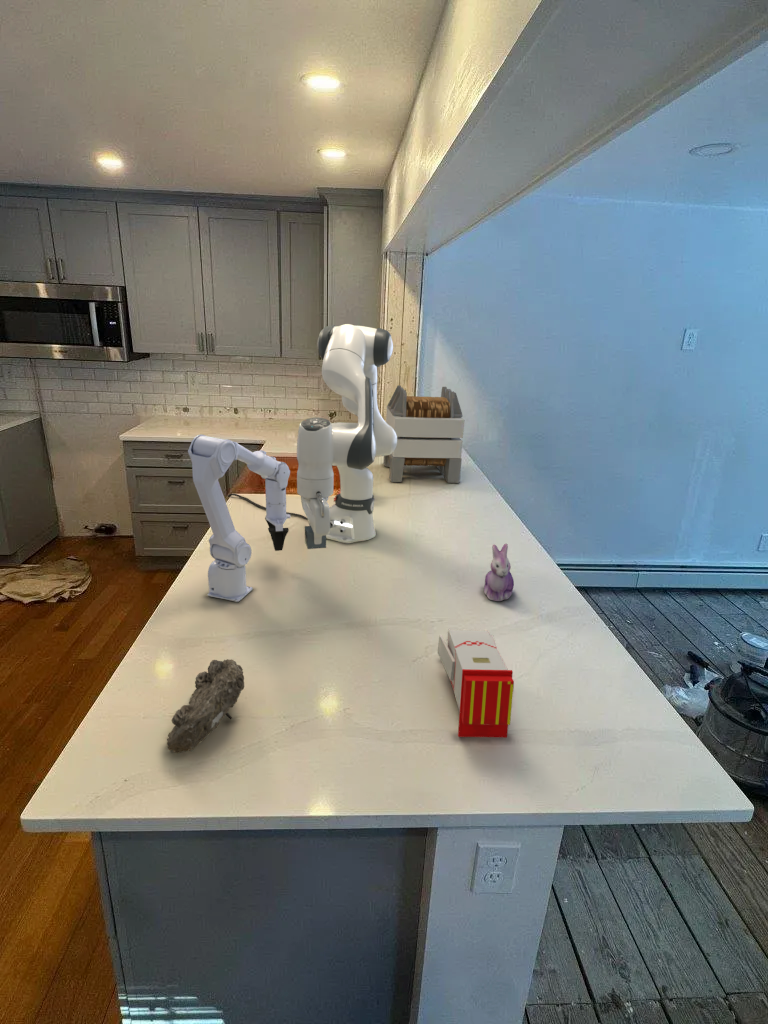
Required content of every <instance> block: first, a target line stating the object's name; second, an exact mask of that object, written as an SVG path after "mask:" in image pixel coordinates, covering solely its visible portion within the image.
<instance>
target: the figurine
mask: <svg viewBox="0 0 768 1024" xmlns="http://www.w3.org/2000/svg"><path fill="white" fill-rule="evenodd" d="M491 547H492V548H491V549H492V560H491V562H490V571H488V572H487V573H486V574H485V577H484V587H483V592H484V595H485V596H486V597H487V598H488V600H491V601H494V602H495V601H496V602H502V601H503V600H509V598H510V597H511V596H512V594H513V590H514V587H515V581H514V577H513V574H512V572H511V567H512V566H511V563H510V560H509V558H508V549H509V545H508V544H507V543H504V544H503V545H502V547H501V549H500V550H499V548H498V546H497V545H496V544H494V543H493V544H492V546H491Z"/></svg>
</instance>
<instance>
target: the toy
mask: <svg viewBox="0 0 768 1024" xmlns="http://www.w3.org/2000/svg"><path fill="white" fill-rule="evenodd" d="M446 640H447V643H446V641H445V639H444V636H443V635H442V634H439V637H438V646H437V656H438V657H439V659H440V661H441V663H442V666H443V668H444V670H445V672H446V674H447V677H448V679H449V681H450V684H451V687H452V690H453V693H454V697H455V701H456V705H457V708H458V711H459V714H458V715H459V716H458V730H457V731H458V732H457V737H458V738H508V731H509V726H510V725H511V717H512V707H513V697H514V696H513V695H514V684H515V680H514V679H513V673H514V671H513V670H512V669H508V667H507V665H506V662H505V661H504V659H503V658H502V655H501V653H500V651H499V649H498V647H497V643H496V639H495V637H494V635H493V634H491V632H490V631H489V629H467V628H466V629H465V628H463V629H461V628H460V629H459V628H448V630H447V639H446Z"/></svg>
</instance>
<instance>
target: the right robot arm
mask: <svg viewBox="0 0 768 1024" xmlns="http://www.w3.org/2000/svg"><path fill="white" fill-rule="evenodd" d="M317 350H318V354H319V357H320V358H321V359H322V365H321V377H322V379H323V382H324V384H325V386H327V387H328V388H329V390H330V391H332V392H333V393H335V394H336V395H339V396H341V404H342V406H343V408H344V409H345V410H346V411H347V412H349V413H350V414H351V415H352V414H353V415H354V416H356V417H357V422H343V421H341V422H340V421H337V422H333V423H332V422H331V421H330V420H329V419H327V418H324V417H310V418H306V419H304V420H302V421H301V422H300V423H299V426H298V430H297V439H296V460H297V464H298V468H297V471H296V493H297V495H298V496H300V502H301V506H302V510H303V512H304V515H303V514H299V513H296V512H295V513H294V512H288V511H286V514H290V516H295V517H299V518H302V519H303V520H306V521H308V526H311V527H312V530H313V532H314V536H313V541H314V543H315V544H321V543H322V536H323V535H326V540H330V541H336V542H339V543H343V544H352V543H357V542H365V541H368V540H372V539H373V538H375V537H376V535H377V532H376V528H375V523H374V513H373V512H374V509H375V496H374V474H373V472H372V471H371V469H369V468H368V467H370V466H371V465H372V464H373V463H374V462H375V460H376V459H375V458H379V457H384V456H386V455H390V454H392V453H393V451H394V450H395V448H396V446H397V435H396V432H395V431H394V429H393V428H392V427H391V426H390V425H388V424H387V423H386V419H384V418H383V416H382V414H381V413H380V410H379V406H378V368H380V367H381V366H384V365H386V364H388V363H389V362H390V359H391V357H392V355H393V350H394V342H393V338H392V334H391V333H390V332H389V330H387V329H384V328H380V327H377V328H375V327H371V326H364V325H353V324H351V323H345V324H341V325H338V326H337V325H334V324H333V325H327V326H324V327H323V329H321V330H320V332H319V335H318V338H317ZM333 467H337V470H338V474H339V483H340V484H339V485H340V488H339V489H340V490H339V491H338V492H337V494H336V495H335V496H334V497H333V502H334V504H333V505H331V506H330V505H329V503H328V501H329V498H330V497H331V496H332V495H333V494H334V489H335V488H334V482H335V481H334V480H335V479H334V478H335V474H334V473H335V472H334V469H333ZM232 496H234V497H238V498H240V499H243V500H245V501H247V502H248V503H250V504H252V505H254V506H256V507H258V508H260V509H263V510H266V506H263V505H260V504H259V503H256V502H254V501H252V500H251V499H249V498H247V497H245V496H244V495H243V496H242V495H240V494H237V493H229V494H228V495H227V498H230V497H232Z"/></svg>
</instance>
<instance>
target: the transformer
mask: <svg viewBox="0 0 768 1024" xmlns="http://www.w3.org/2000/svg"><path fill="white" fill-rule="evenodd" d="M440 393H441V394H440V396H415V395H414V396H413V395H412V396H411V395H407V394H408V393H407V390H406V389H404V388H403V387H402V385H399V384H398V385H397V386H396V388H395V390H394V392H393V394H392V395H391V398H390V400H389V402H388V404H387V405H386V413H385V414H386V415H385V422H386V423H387V424H388V425H390V426H391V427H392V428H393V429H394V431H395V432H396V435H397V446H396V448H395V450H394V451H393V453H392V454H390V455H386V456H383V466H384V467H388V468H389V475H388V476H389V477H388V478H389V480H390V482H391V483H402V482H403V475H404V469H405V466H406V467H407V466H411V467H412V466H413V467H415V466H416V467H417V466H418V467H436V468H437V470H438V469H439V473H440V474H441V475H443V478H444V479H445V481H446V482H447V483H449V484H455V483H456V484H459V483H461V472H462V461H463V460H462V453H463V442H464V441H463V440H462V439H463V438H464V431H465V430H464V429H465V419H464V418H463V411H462V408H461V405H460V402H459V398H458V395H457V392H455V391H453V390H452V389H451V388H447V386H442V387H441V392H440Z"/></svg>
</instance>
